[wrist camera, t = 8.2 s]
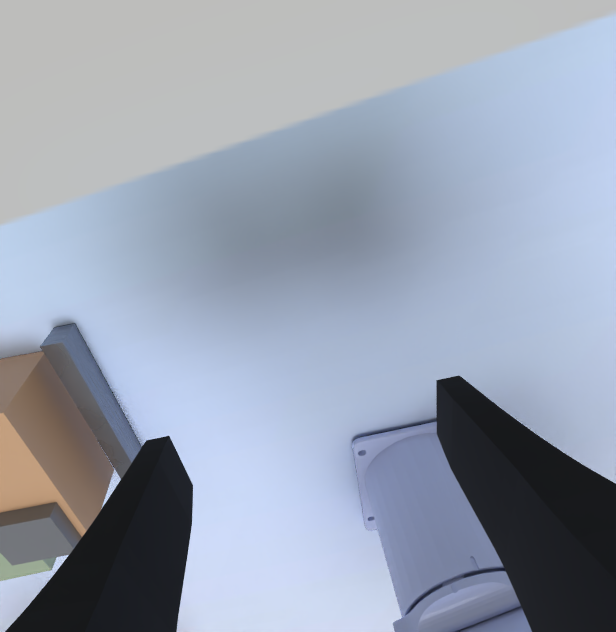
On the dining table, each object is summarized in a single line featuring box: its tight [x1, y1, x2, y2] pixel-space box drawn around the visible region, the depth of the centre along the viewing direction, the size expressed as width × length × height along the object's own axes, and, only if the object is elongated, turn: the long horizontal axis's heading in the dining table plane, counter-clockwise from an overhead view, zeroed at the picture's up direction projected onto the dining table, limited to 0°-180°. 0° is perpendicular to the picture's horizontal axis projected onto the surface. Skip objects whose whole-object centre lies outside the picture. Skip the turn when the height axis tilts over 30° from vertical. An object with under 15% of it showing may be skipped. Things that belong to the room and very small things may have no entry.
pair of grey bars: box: [40, 323, 142, 479], centre depth 23 cm, size 13×8×2 cm, turn 9°
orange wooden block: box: [0, 351, 114, 566], centre depth 21 cm, size 9×4×5 cm, turn 8°
